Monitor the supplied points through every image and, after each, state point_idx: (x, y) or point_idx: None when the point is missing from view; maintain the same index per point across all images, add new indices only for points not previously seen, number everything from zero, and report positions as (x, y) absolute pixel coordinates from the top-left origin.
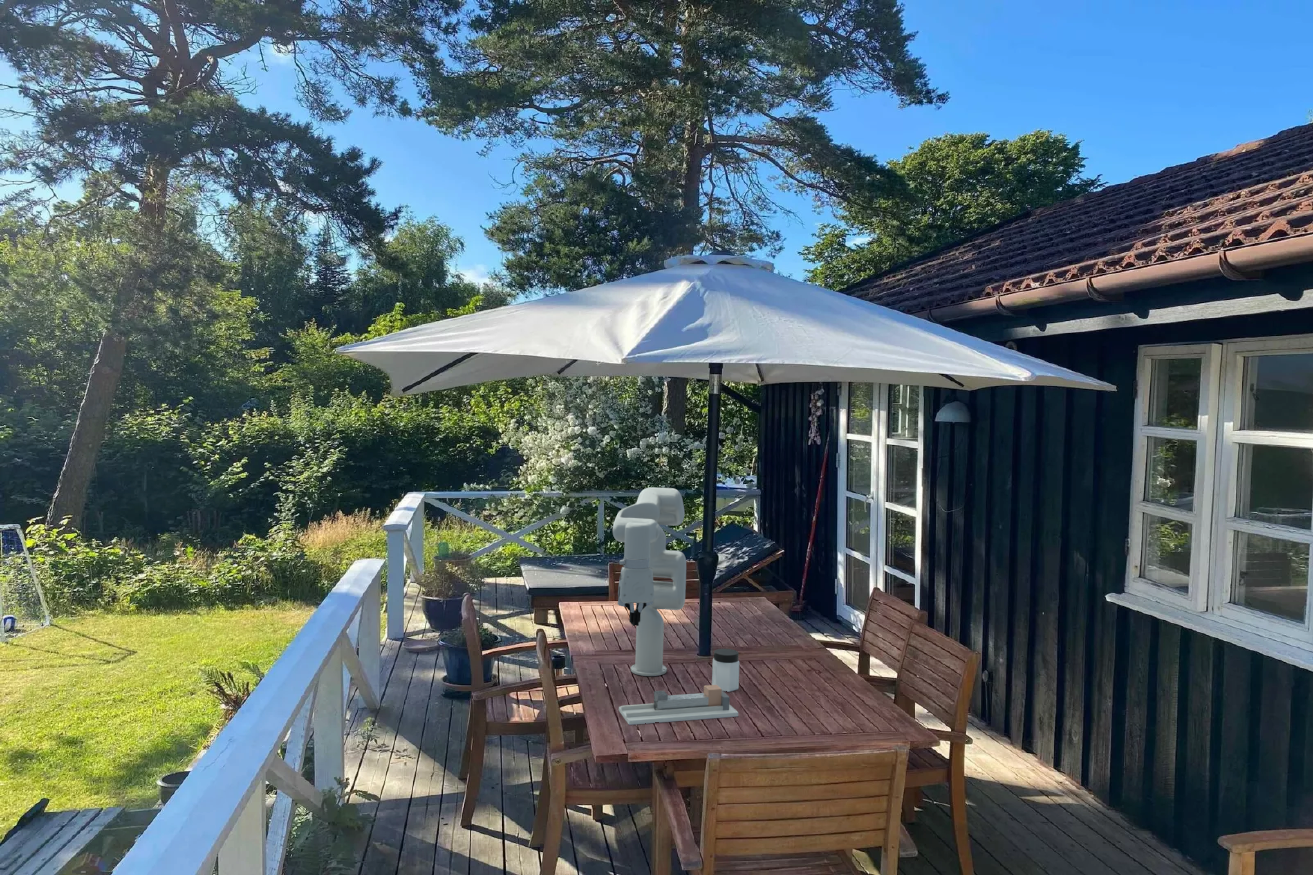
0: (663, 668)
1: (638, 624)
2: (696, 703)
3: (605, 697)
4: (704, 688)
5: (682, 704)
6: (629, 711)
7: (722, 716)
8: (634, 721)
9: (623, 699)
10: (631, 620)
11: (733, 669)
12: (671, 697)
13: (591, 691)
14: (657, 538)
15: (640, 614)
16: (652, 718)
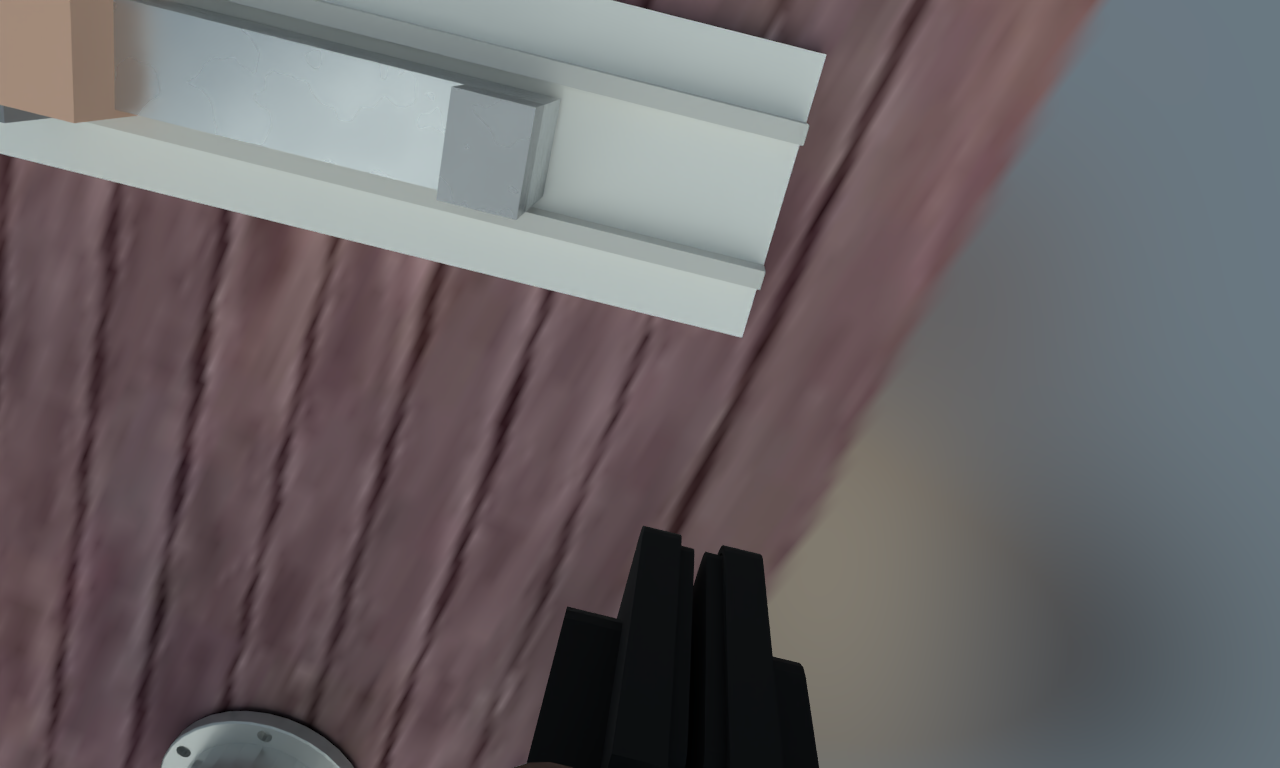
0: (181, 763)
1: (647, 534)
2: (239, 23)
3: (696, 557)
4: (87, 103)
5: (354, 52)
6: (724, 225)
7: None
8: (785, 44)
9: (611, 485)
10: (785, 681)
11: None
12: (406, 129)
13: None
14: None
15: (534, 735)
16: (645, 20)
